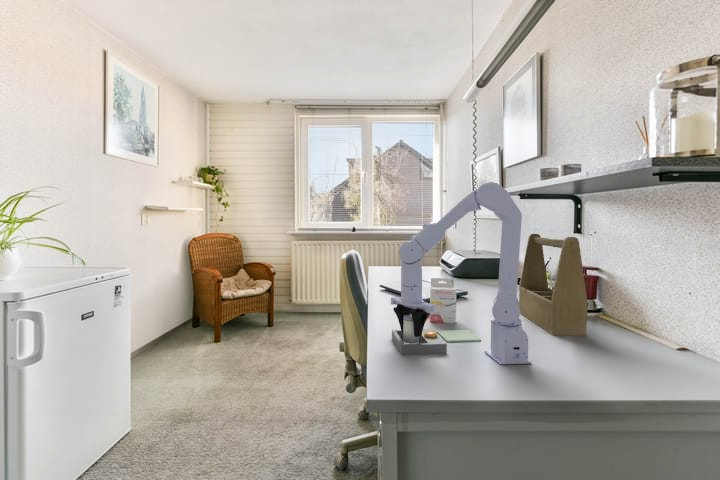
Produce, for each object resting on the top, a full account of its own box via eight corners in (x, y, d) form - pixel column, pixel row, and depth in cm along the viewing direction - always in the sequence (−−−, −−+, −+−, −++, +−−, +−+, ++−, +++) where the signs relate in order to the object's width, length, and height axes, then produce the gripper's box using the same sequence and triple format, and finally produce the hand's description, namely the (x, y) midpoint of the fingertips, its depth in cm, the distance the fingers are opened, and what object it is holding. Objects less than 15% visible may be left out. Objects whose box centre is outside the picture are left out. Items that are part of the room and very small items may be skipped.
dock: (446, 353, 100) (446, 343, 100) (401, 354, 99) (401, 345, 99) (431, 337, 114) (431, 329, 114) (391, 338, 113) (391, 330, 112)
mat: (480, 341, 110) (480, 339, 110) (446, 342, 109) (446, 340, 109) (467, 331, 120) (467, 329, 120) (436, 332, 119) (436, 330, 119)
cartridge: (421, 343, 104) (421, 317, 104) (405, 343, 104) (405, 318, 103) (417, 338, 108) (417, 313, 108) (402, 338, 108) (402, 314, 108)
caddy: (588, 336, 115) (590, 236, 113) (551, 335, 115) (553, 236, 114) (546, 313, 144) (548, 233, 143) (517, 313, 145) (519, 233, 143)
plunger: (438, 345, 105) (438, 335, 105) (426, 345, 105) (426, 335, 104) (435, 341, 108) (435, 331, 108) (422, 341, 108) (422, 331, 108)
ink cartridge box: (430, 322, 130) (431, 279, 130) (429, 319, 135) (429, 277, 135) (456, 323, 130) (456, 280, 129) (454, 319, 134) (454, 278, 134)
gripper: (441, 286, 102) (441, 337, 103) (403, 280, 113) (403, 326, 114) (423, 289, 98) (423, 342, 98) (385, 283, 109) (385, 330, 110)
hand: (411, 334), depth 106 cm, fingers closed on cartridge, 4 cm apart
